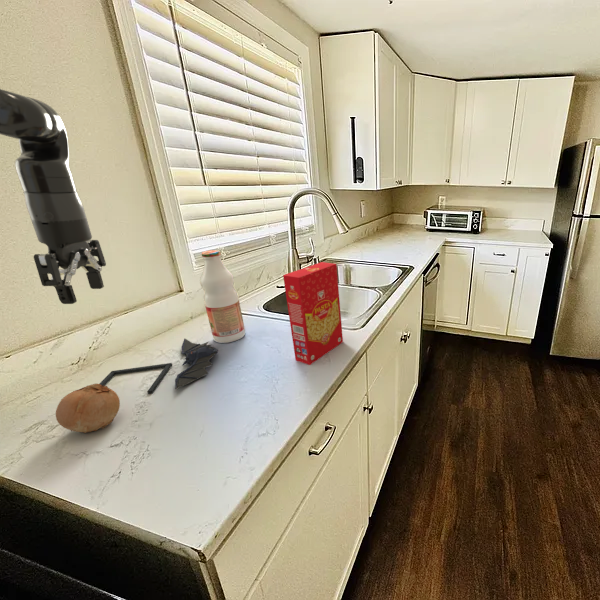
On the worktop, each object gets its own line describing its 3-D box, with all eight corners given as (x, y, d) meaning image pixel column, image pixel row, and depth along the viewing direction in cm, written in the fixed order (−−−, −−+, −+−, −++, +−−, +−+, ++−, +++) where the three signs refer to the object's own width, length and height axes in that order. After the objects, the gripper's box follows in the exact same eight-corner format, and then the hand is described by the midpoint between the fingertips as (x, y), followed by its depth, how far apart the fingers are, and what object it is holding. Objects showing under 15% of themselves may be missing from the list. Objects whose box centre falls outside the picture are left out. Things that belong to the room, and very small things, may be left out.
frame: (82, 404, 75) (81, 401, 74) (112, 373, 86) (111, 370, 86) (152, 393, 78) (151, 390, 78) (172, 365, 90) (171, 362, 89)
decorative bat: (216, 368, 80) (169, 383, 76) (221, 382, 81) (175, 397, 77) (216, 323, 104) (180, 333, 100) (220, 335, 106) (184, 344, 102)
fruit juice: (232, 345, 100) (212, 256, 90) (206, 342, 102) (184, 254, 92) (252, 331, 108) (235, 249, 98) (228, 329, 111) (209, 247, 101)
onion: (120, 424, 73) (131, 380, 73) (102, 443, 64) (115, 393, 65) (64, 421, 69) (77, 375, 69) (38, 441, 60) (52, 388, 61)
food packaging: (309, 365, 89) (298, 277, 80) (295, 360, 91) (283, 275, 82) (342, 342, 101) (336, 263, 92) (329, 338, 103) (322, 261, 94)
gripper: (63, 210, 68) (86, 284, 74) (0, 221, 55) (34, 309, 61) (105, 212, 69) (124, 284, 75) (53, 223, 56) (81, 308, 62)
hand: (84, 295), depth 68 cm, fingers open, 8 cm apart
